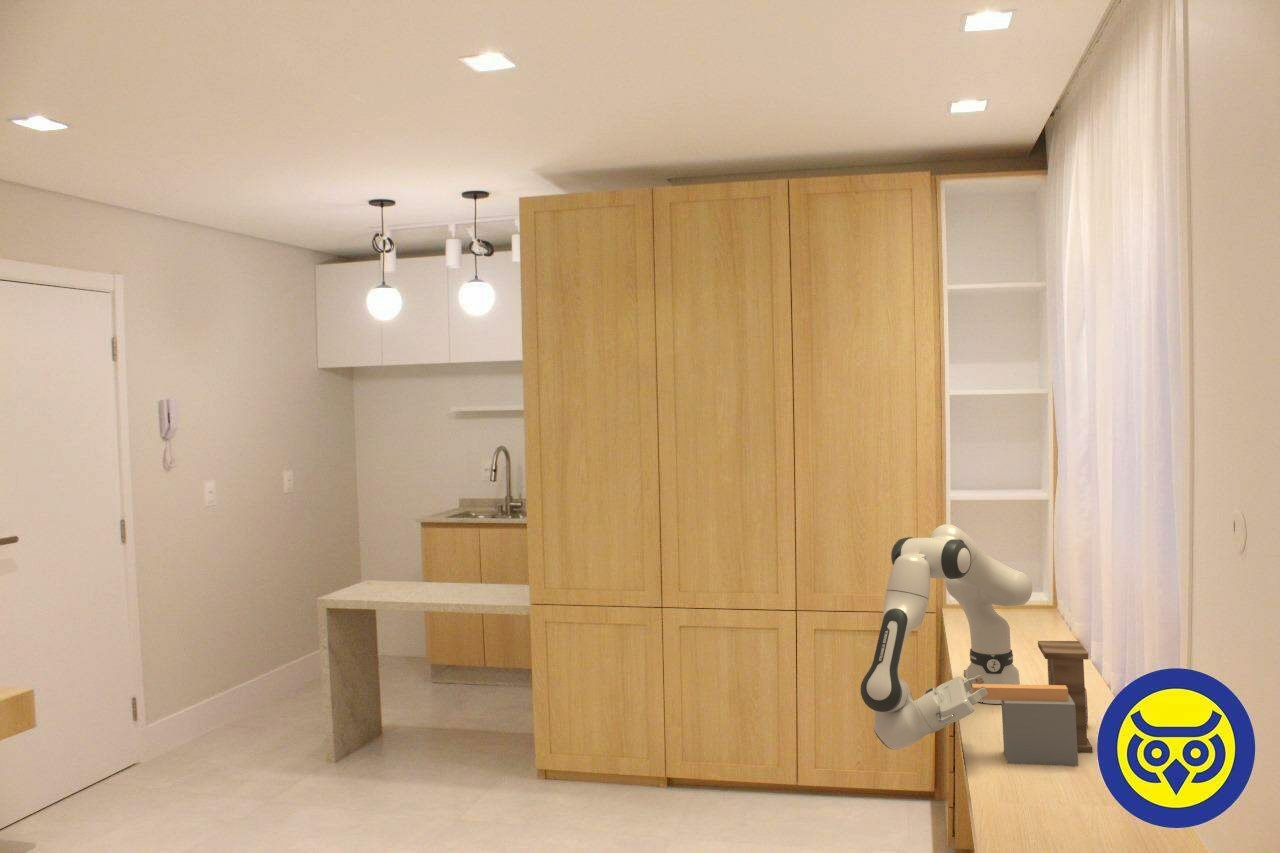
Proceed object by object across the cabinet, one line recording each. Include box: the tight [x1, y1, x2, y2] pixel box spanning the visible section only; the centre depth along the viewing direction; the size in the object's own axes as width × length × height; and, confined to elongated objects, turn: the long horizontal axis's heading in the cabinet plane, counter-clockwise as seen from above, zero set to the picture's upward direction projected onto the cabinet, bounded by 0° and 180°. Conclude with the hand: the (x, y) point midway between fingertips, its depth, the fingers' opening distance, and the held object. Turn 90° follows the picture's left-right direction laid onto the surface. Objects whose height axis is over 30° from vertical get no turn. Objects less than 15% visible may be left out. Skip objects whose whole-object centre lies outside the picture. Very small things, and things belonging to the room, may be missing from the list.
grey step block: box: [1001, 694, 1079, 767], centre depth 240 cm, size 8×16×15 cm, turn 76°
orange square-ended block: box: [972, 684, 1068, 701], centre depth 240 cm, size 3×22×3 cm, turn 76°
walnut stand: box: [1037, 640, 1094, 754], centre depth 248 cm, size 12×10×25 cm
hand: (984, 684), depth 242 cm, fingers open, 8 cm apart
